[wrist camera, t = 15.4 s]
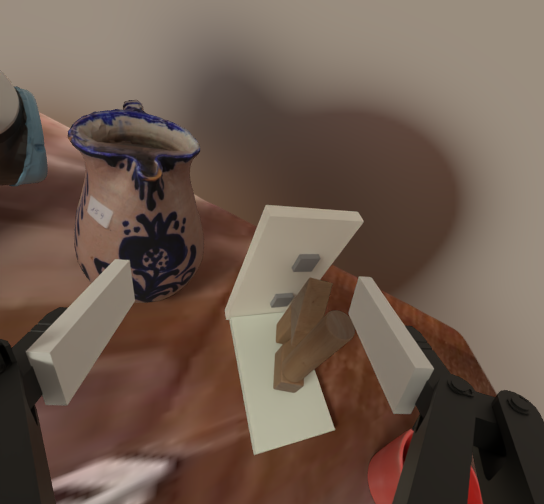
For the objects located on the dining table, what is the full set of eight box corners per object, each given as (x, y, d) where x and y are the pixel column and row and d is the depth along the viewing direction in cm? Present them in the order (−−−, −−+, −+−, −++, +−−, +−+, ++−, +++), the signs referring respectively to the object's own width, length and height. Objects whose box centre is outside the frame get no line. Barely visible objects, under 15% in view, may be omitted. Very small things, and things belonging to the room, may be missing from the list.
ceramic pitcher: (96, 337, 39) (54, 199, 22) (72, 230, 49) (29, 75, 31) (212, 300, 49) (249, 184, 31) (173, 217, 58) (183, 92, 41)
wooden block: (295, 328, 49) (346, 265, 36) (295, 394, 42) (359, 345, 29) (275, 323, 48) (320, 258, 36) (271, 389, 41) (327, 337, 28)
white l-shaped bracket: (224, 310, 48) (265, 204, 31) (291, 304, 53) (357, 211, 36) (250, 456, 36) (340, 412, 19) (333, 430, 41) (463, 378, 24)
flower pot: (379, 555, 34) (437, 567, 27) (345, 446, 40) (385, 434, 33) (441, 526, 37) (506, 531, 31) (401, 432, 44) (447, 418, 37)
